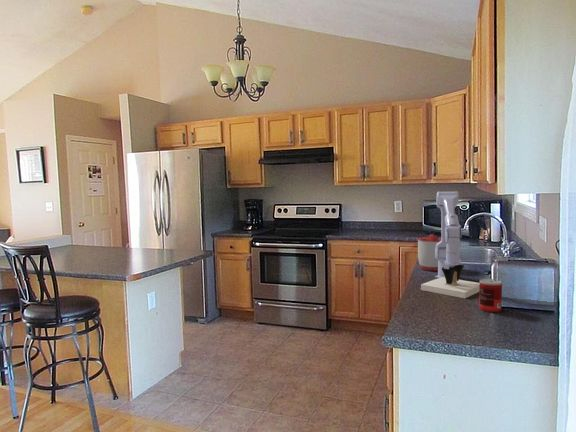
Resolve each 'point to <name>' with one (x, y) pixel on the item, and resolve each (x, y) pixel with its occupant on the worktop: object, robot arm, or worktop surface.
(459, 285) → the holder board
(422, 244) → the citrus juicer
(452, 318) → the worktop surface
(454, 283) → the maple dowel
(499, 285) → the canned food
